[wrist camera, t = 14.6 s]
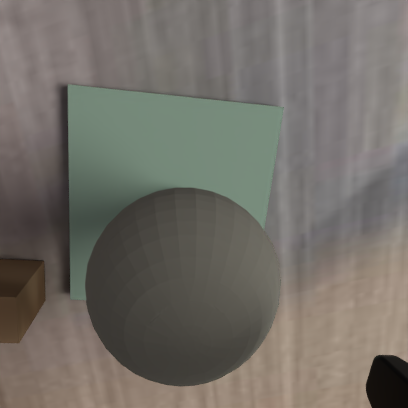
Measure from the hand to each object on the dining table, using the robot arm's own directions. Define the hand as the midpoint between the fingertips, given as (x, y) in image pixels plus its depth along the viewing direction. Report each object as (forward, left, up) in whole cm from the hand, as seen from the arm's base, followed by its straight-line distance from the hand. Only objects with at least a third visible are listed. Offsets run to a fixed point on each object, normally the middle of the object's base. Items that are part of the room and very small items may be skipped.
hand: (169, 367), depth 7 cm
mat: (0, 0, -12) cm, 12 cm away
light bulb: (0, -1, -11) cm, 11 cm away
